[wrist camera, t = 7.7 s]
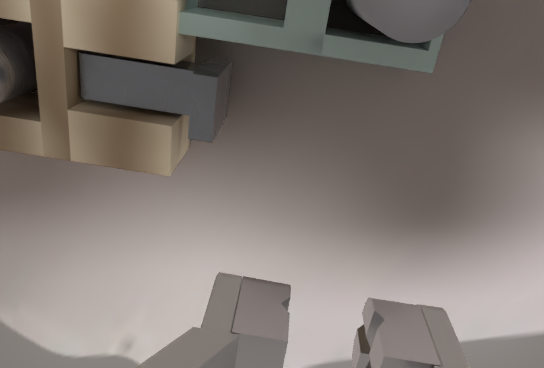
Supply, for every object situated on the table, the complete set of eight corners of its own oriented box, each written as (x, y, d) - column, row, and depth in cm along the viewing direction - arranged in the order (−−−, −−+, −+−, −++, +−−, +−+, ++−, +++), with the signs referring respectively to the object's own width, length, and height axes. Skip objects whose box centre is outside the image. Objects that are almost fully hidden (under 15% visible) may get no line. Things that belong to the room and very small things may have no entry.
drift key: (98, 96, 26) (59, 118, 21) (97, 39, 24) (54, 51, 20) (226, 116, 26) (211, 142, 21) (232, 60, 24) (217, 77, 20)
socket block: (-11, 116, 28) (-65, 139, 24) (-34, -40, 24) (-102, -44, 20) (189, 147, 28) (169, 176, 24) (198, -3, 24) (177, 0, 20)
